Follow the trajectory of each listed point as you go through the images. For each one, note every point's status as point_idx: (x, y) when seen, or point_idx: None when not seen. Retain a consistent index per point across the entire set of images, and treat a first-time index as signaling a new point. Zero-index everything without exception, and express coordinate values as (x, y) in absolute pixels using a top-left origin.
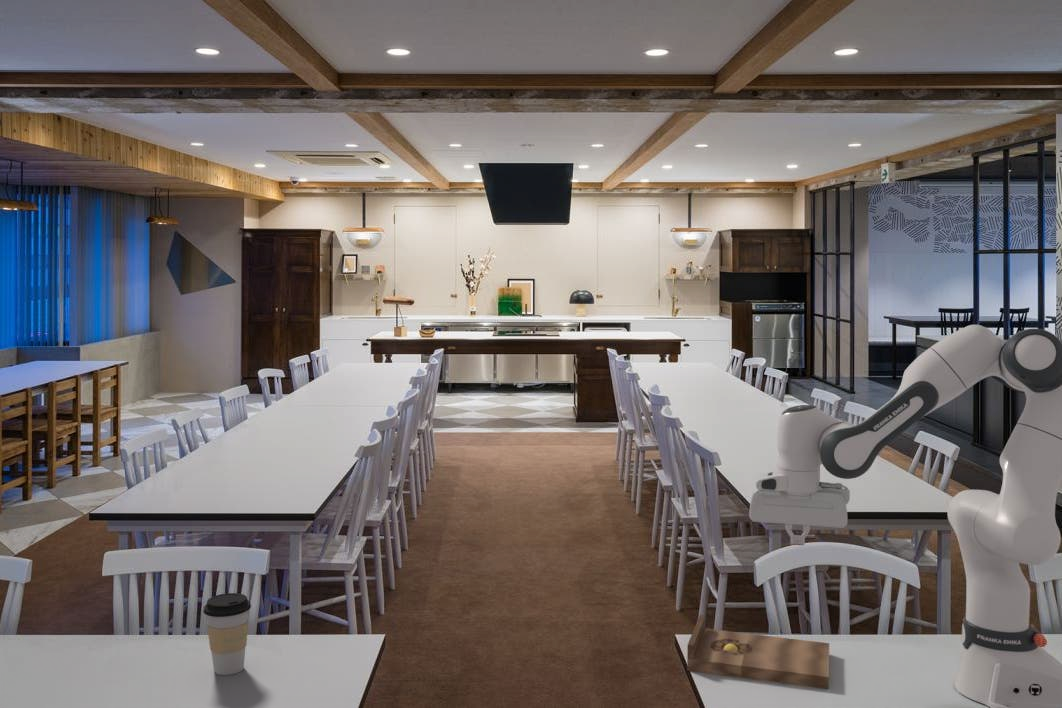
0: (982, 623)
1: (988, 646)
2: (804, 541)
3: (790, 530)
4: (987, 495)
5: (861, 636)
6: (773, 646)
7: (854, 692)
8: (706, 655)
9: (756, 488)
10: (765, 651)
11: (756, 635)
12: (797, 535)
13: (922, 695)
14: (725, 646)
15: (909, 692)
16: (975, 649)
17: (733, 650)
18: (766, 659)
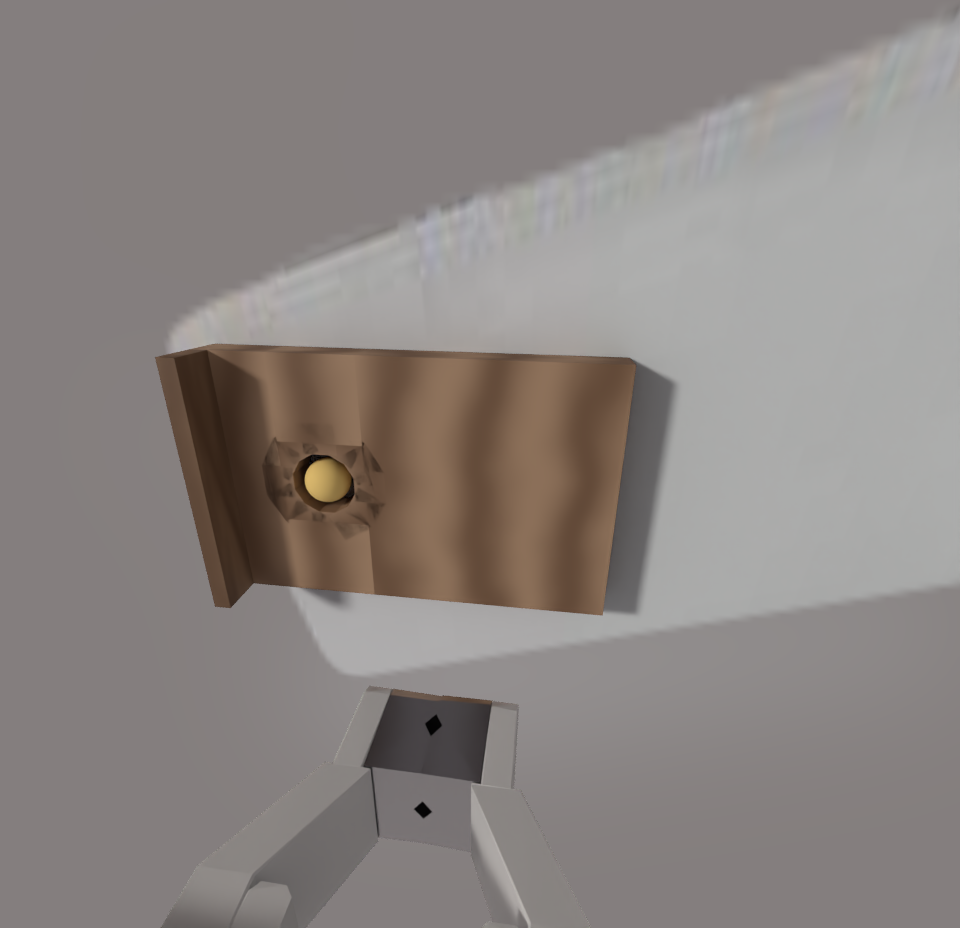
0: None
1: None
2: (514, 774)
3: (305, 895)
4: None
5: (803, 100)
6: (444, 446)
7: (664, 596)
8: (276, 553)
9: None
10: (424, 490)
11: (380, 364)
12: (419, 784)
13: (856, 579)
14: (307, 489)
15: (823, 569)
16: None
17: (335, 500)
18: (433, 545)
